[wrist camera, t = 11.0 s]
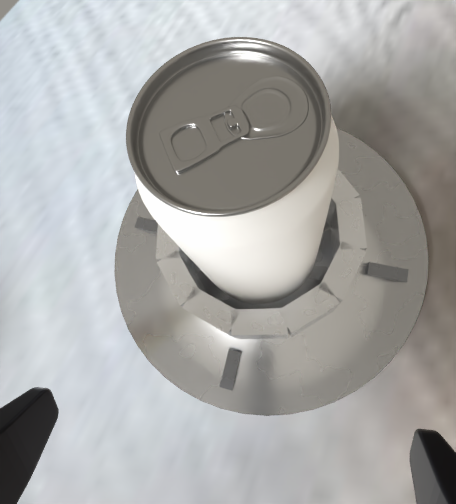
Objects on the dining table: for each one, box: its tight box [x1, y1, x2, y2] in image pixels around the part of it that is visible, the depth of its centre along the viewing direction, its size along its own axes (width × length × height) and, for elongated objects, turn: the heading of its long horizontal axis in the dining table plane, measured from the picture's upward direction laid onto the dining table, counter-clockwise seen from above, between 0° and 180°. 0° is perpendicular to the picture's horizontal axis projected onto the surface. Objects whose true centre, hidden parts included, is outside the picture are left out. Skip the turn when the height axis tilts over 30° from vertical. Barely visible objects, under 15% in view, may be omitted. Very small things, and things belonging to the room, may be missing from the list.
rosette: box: [115, 128, 428, 416], centre depth 20 cm, size 18×18×4 cm
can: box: [126, 37, 339, 304], centre depth 15 cm, size 6×6×12 cm
